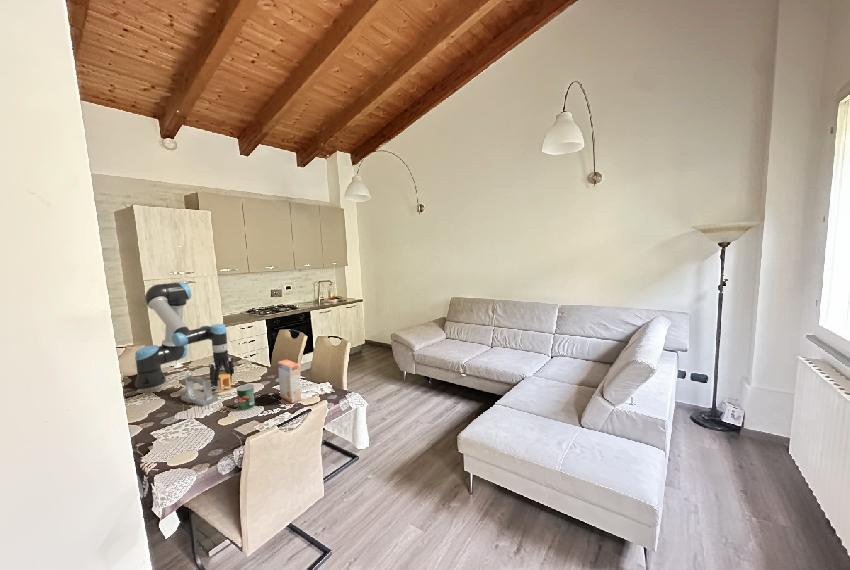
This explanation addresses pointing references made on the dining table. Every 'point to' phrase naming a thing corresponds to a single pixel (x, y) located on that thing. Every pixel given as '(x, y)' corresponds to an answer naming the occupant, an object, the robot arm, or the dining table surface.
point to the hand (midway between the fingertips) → (223, 388)
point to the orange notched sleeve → (224, 380)
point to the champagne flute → (177, 365)
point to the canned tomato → (245, 397)
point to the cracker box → (289, 381)
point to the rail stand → (198, 392)
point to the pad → (224, 391)
